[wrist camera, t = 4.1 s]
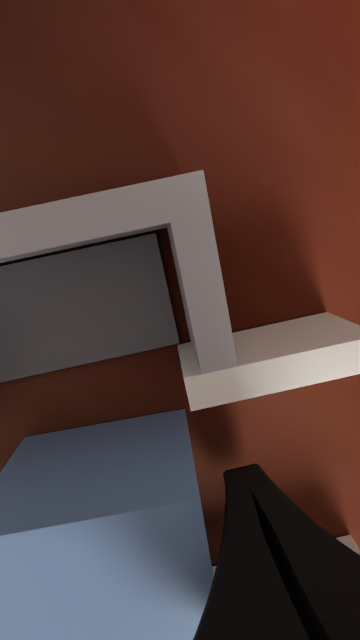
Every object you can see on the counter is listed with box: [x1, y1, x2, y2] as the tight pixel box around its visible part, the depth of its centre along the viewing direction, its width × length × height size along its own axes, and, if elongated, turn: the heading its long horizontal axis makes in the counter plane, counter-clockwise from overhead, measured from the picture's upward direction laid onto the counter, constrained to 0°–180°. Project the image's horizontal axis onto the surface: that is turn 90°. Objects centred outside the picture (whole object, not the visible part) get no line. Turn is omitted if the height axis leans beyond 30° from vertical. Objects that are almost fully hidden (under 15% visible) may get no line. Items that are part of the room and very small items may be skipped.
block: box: [0, 409, 214, 640], centre depth 11 cm, size 6×6×4 cm
